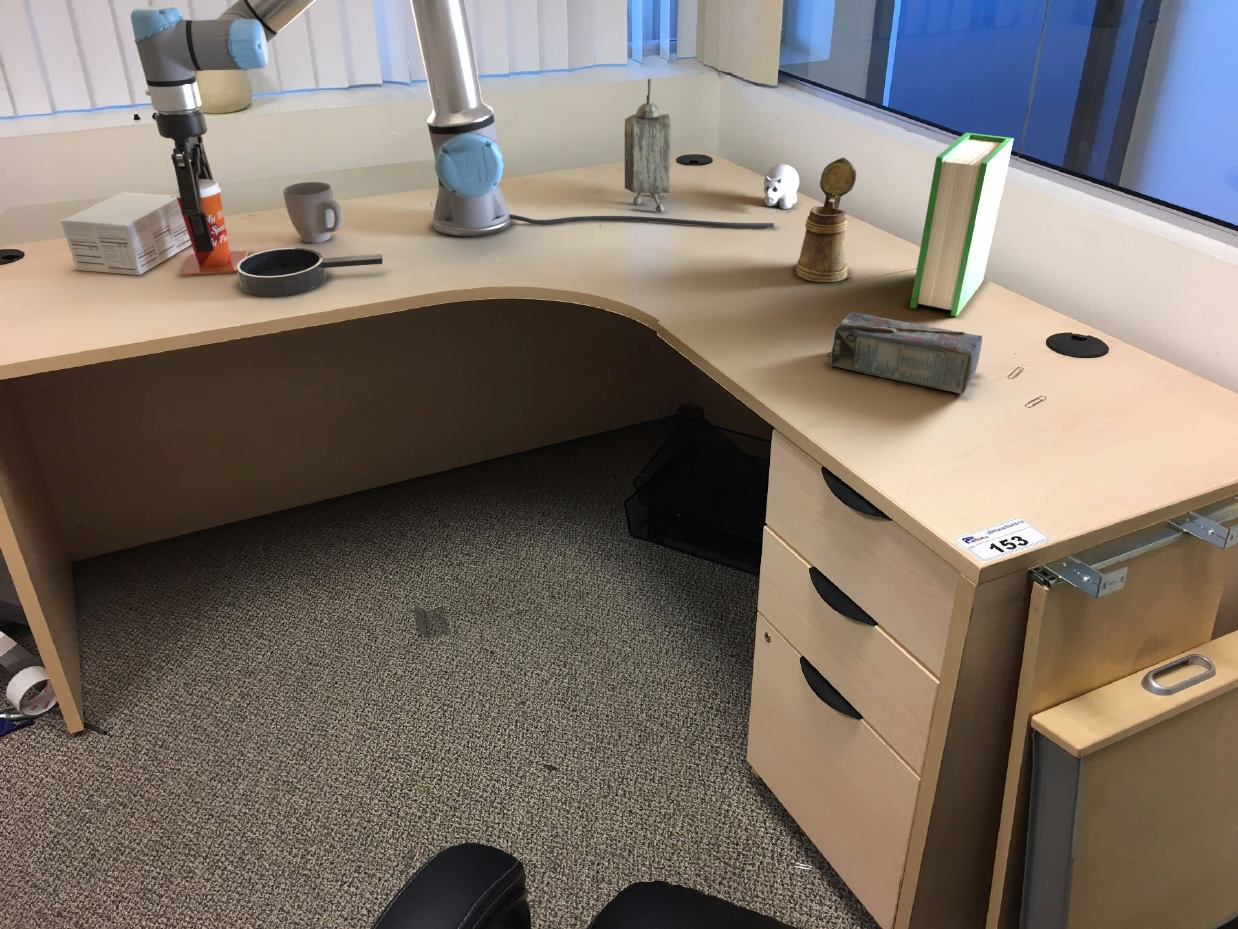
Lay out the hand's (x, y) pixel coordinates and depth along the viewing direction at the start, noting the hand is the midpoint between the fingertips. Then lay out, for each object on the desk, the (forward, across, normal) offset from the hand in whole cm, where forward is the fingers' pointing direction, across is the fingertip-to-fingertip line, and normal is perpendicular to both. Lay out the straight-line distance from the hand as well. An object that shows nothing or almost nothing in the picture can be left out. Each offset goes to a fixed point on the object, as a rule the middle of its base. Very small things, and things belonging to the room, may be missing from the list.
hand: (210, 241), depth 168 cm
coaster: (+4, 0, 0) cm, 4 cm away
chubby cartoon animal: (+4, -11, +110) cm, 111 cm away
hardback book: (+4, +39, +123) cm, 129 cm away
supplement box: (+4, -7, -15) cm, 17 cm away
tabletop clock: (+4, -19, +84) cm, 86 cm away
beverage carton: (+4, +64, +103) cm, 121 cm away
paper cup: (+4, 0, 0) cm, 4 cm away
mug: (+4, -10, +18) cm, 21 cm away
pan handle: (+2, +11, +25) cm, 27 cm away
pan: (+4, +11, +13) cm, 18 cm away
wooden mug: (+4, +24, +107) cm, 110 cm away
